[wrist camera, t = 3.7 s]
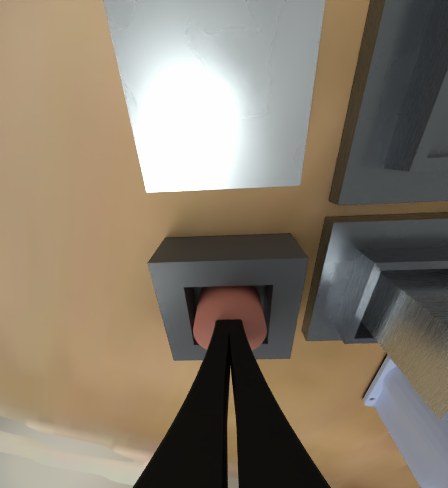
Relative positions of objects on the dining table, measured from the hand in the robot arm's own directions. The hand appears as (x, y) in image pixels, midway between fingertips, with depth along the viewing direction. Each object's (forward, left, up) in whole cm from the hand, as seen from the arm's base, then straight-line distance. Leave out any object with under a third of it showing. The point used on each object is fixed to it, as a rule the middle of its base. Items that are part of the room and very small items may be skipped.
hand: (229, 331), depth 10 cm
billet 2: (0, -11, -3) cm, 11 cm away
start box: (0, 0, -4) cm, 4 cm away
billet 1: (+10, 0, -4) cm, 11 cm away
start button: (0, 0, -2) cm, 2 cm away
